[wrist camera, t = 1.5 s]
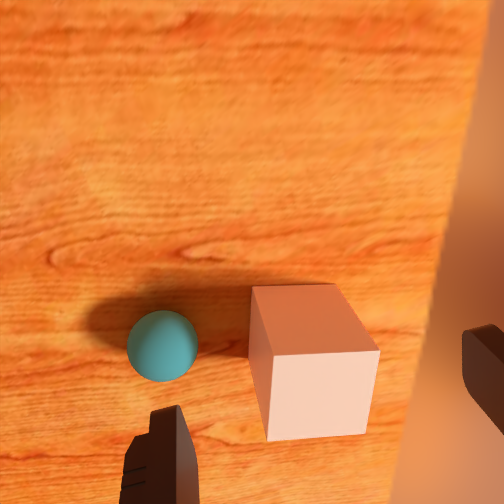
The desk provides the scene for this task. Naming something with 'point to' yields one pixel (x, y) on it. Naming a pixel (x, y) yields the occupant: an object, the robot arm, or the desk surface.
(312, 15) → the desk surface
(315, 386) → the upright white pillar block
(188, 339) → the ball
